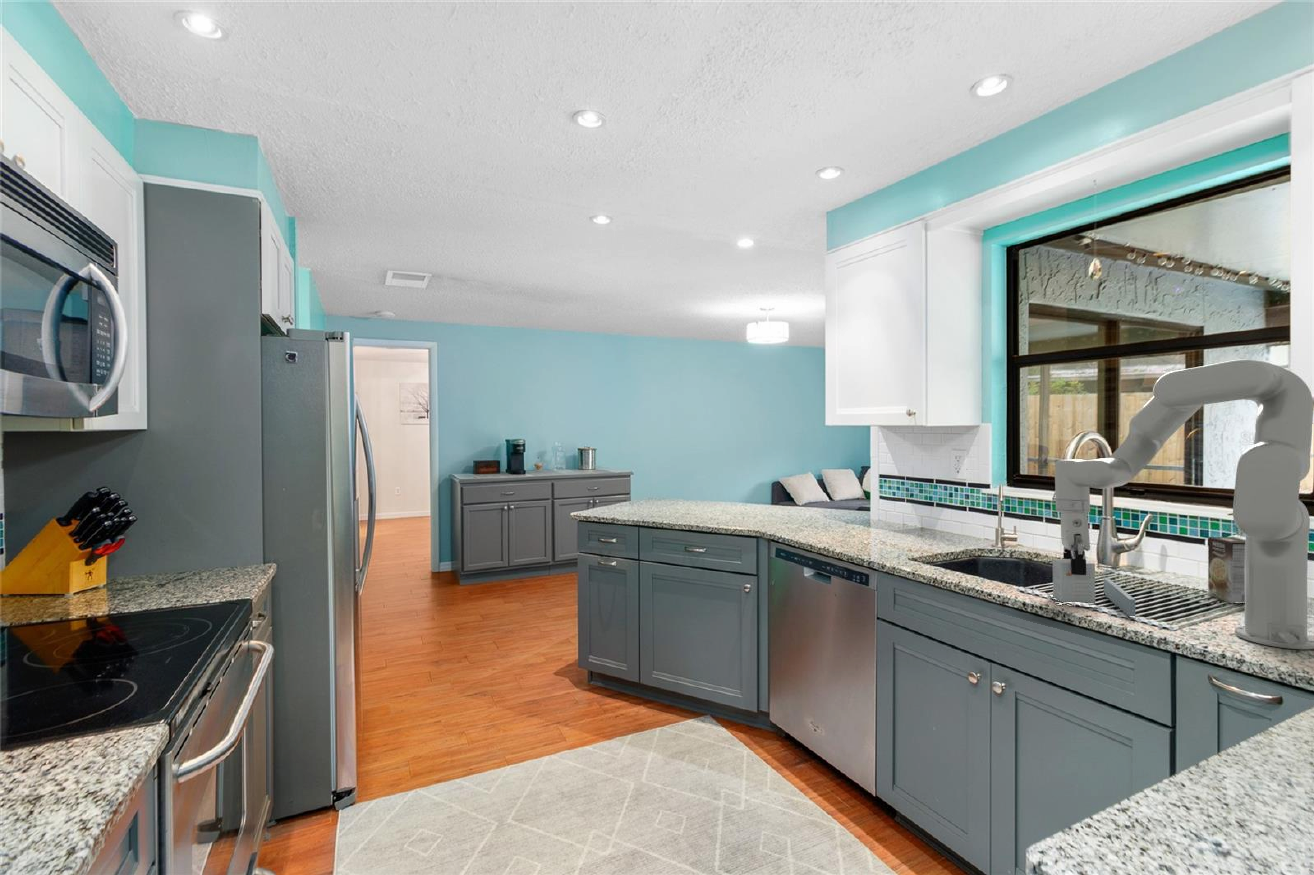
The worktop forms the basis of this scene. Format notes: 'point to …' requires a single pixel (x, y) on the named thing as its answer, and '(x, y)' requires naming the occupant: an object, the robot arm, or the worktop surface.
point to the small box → (1073, 582)
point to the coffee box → (1226, 568)
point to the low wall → (1119, 597)
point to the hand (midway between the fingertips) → (1074, 571)
